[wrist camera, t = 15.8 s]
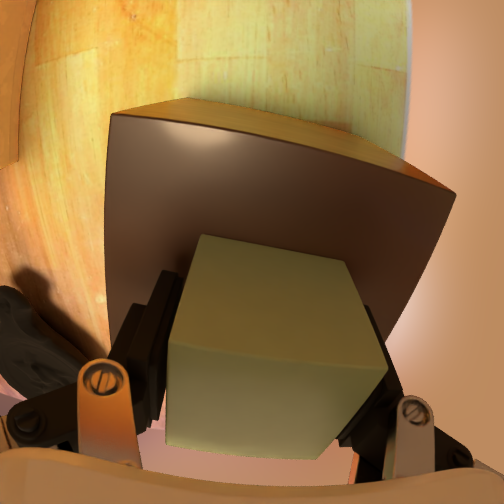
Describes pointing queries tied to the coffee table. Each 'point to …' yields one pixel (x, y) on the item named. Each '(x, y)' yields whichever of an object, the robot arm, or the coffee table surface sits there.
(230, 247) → the block
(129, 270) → the stand
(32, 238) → the coffee table surface
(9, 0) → the oven
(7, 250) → the coffee table surface
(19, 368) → the oil lamp
